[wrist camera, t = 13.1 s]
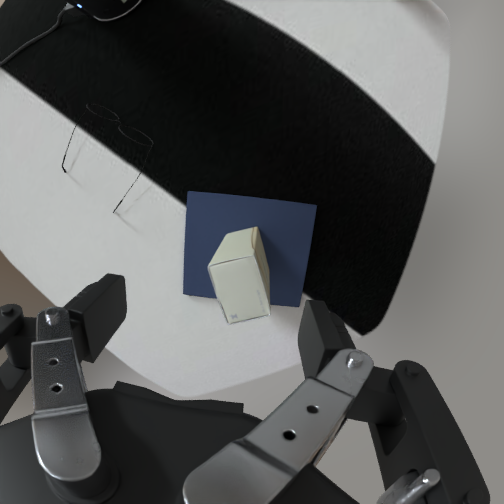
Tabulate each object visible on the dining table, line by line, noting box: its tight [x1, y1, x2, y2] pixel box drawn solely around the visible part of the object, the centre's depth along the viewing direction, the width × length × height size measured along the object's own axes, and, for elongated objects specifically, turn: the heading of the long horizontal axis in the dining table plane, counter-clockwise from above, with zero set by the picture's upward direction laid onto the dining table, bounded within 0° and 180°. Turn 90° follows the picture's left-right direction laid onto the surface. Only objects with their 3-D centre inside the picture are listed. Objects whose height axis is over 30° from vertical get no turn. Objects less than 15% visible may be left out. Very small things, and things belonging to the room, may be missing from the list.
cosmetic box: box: [208, 227, 271, 325], centre depth 31 cm, size 6×4×12 cm
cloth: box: [183, 191, 317, 307], centre depth 37 cm, size 16×14×1 cm
